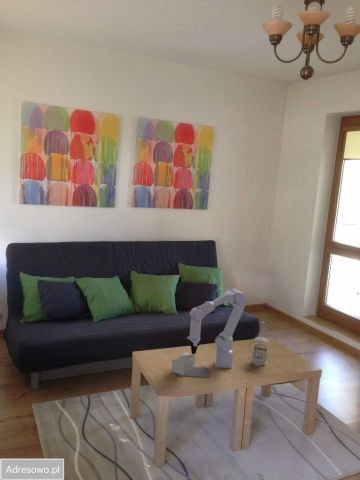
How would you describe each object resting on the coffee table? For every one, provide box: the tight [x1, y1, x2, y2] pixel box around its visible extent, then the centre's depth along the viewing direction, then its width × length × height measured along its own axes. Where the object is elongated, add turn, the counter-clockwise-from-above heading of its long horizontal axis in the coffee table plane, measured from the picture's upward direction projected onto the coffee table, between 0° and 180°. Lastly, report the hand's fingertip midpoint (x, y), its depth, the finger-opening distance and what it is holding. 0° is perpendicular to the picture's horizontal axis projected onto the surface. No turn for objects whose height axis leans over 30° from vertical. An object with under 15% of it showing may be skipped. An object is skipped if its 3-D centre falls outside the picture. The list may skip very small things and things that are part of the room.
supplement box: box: [171, 351, 196, 377], centre depth 228 cm, size 7×7×13 cm
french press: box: [248, 321, 269, 367], centre depth 244 cm, size 10×12×25 cm
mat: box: [175, 366, 211, 379], centre depth 227 cm, size 18×11×1 cm, turn 92°
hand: (193, 353), depth 231 cm, fingers closed
